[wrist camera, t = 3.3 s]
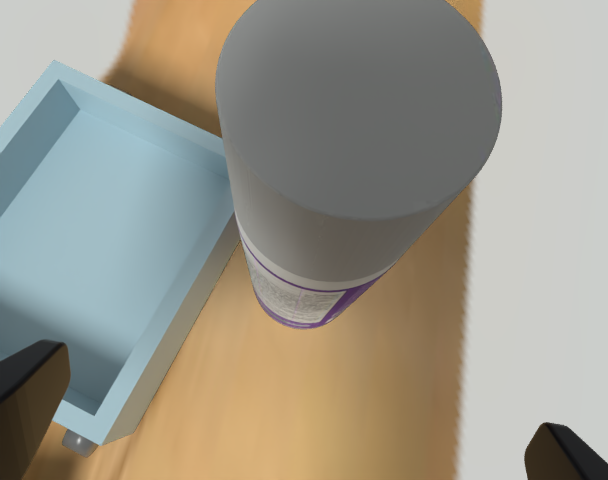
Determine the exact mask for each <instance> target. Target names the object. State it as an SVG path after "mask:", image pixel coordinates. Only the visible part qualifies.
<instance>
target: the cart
mask: <svg viewBox="0 0 608 480" xmlns="http://www.w3.org/2000/svg"><path fill="white" fill-rule="evenodd" d="M240 239H241V237H240V233H239V229H238V225H237V221H236V217H235V210H234V203H233V198H232V192H231V186H230V180H229V174H228V168H227V162H226V156H225V150H224V144H223V139H222V138H220V137H218V136H216V135H214V134H211V133H209V132H207V131H205V130H203V129H201V128H199V127H196V126H194V125H192V124H190V123H188V122H186V121H184V120H182V119H179V118H177V117H175V116H173V115H171V114H169V113H167V112H164V111H162V110H160V109H158V108H156V107H154V106H152V105H149V104H147V103H145V102H143V101H141V100H139V99H137V98H135V97H133V96H132V95H131V94H129V93H127V92H125V91H123V90H121V89H118V88H116V87H114V86H112V85H107V84H105V83H103V82H100V81H98V80H96V79H94V78H92V77H90V76H88V75H85V74H83V73H81V72H79V71H77V70H75V69H73V68H70V67H68V66H66V65H64V64H62V63H60V62H58V61H55V60H53V61H52V63H51V64H50V65H49V66H48V68H47V69H46V70H45V72H44V73H43V74H42V75H41V77H40V78H39V79H38V80H37V82H36V83H35V84H34V85H33V87H32V88H31V89H30V90H29V92H28V93H27V94H26V95H25V97H24V98H23V99H22V100H21V102H20V103H19V104H18V106H17V107H16V108H15V109H14V111H13V112H12V113H11V114H10V116H9V117H8V118H7V120H6V121H5V122H4V123H3V125H2V126H1V127H0V361H1V360H3V359H5V358H7V357H9V356H11V355H12V354H14V353H16V352H18V351H20V350H22V349H24V348H26V347H28V346H29V345H31V344H33V343H35V342H37V341H39V340H42V339H50V340H56V341H62V342H65V343H66V344H67V346H68V352H69V361H70V370H71V379H70V383H69V386H68V388H67V390H66V392H65V394H64V396H63V399H62V401H61V403H60V405H59V407H58V409H57V411H56V413H55V415H54V417H53V419H52V420H53V421H55V422H57V423H58V424H60V425H62V426H64V427H66V428H68V430H67V431H66V433H65V436H64V438H63V441H62V445H63V446H65V447H67V448H69V449H71V450H73V451H75V452H76V453H78V454H80V455H82V456H84V457H88V456H90V455H91V454H92V453H93V452H94V451H95V449H96V448H97V447H98V445H100V446H102V445H105V444H107V443H110V442H112V441H115V440H117V439H120V438H122V437H125V436H128V435H130V434H133V433H134V431H135V430H136V428H137V426H138V424H139V422H140V420H141V419H142V417H143V415H144V413H145V411H146V410H147V408H148V406H149V404H150V402H151V401H152V399H153V397H154V395H155V393H156V391H157V390H158V388H159V386H160V384H161V382H162V381H163V379H164V377H165V375H166V373H167V371H168V370H169V368H170V366H171V364H172V362H173V361H174V359H175V357H176V355H177V353H178V351H179V350H180V348H181V346H182V344H183V342H184V341H185V339H186V337H187V335H188V333H189V332H190V330H191V328H192V326H193V324H194V322H195V321H196V319H197V317H198V315H199V313H200V312H201V310H202V308H203V306H204V304H205V302H206V301H207V299H208V297H209V295H210V293H211V292H212V290H213V288H214V286H215V284H216V283H217V281H218V279H219V277H220V275H221V273H222V272H223V270H224V268H225V266H226V264H227V263H228V261H229V259H230V257H231V255H232V253H233V252H234V250H235V248H236V246H237V244H238V243H239V241H240Z"/></svg>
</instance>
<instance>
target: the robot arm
mask: <svg viewBox="0 0 608 480" xmlns="http://www.w3.org/2000/svg"><path fill="white" fill-rule="evenodd" d="M70 379H71V370H70V361H69V352H68V346H67V344H66V343H65V342H62V341H56V340H50V339H42V340H39V341H37V342H35V343H33V344H31V345H29V346H28V347H26V348H24V349H22V350H20V351H18V352H16V353H14V354H12V355H11V356H9V357H7V358H5V359H3V360H1V361H0V480H22V478H23V476H24V474H25V473H26V471H27V469H28V468H29V466H30V464H31V462H32V460H33V458H34V456H35V454H36V452H37V450H38V448H39V446H40V444H41V442H42V440H43V438H44V436H45V434H46V432H47V430H48V428H49V425H50V423H51V421H52V419H53V417H54V415H55V413H56V411H57V409H58V407H59V405H60V403H61V401H62V399H63V396H64V394H65V392H66V390H67V388H68V386H69V383H70ZM524 457H525V458H524V461H525V467H526V473H527V478H528V480H608V464H607V462H605V461H604V460H603V459H602V458H601V457H600V456H599V455H598V454H597V453H596V452H595V451H593V449H591V448H590V447H589V446H588V445H587V444H586V443H585V442H584V441H583V440H582V439H581V438H579V437H578V436H577V435H576V434H575V433H574V432H573V431H572V430H571V429H570V428H568V427H567V426H564V425H560V424H554V423H548V422H546V423H543V424H541V425H540V426H539V428H538V430H537V431H536V433H535V435H534V437H533V438H532V440H531V441H530V443H529V445H528V446H527V448H526V451H525V456H524Z"/></svg>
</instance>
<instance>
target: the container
mask: <svg viewBox="0 0 608 480" xmlns="http://www.w3.org/2000/svg"><path fill="white" fill-rule="evenodd" d="M215 92H216V103H217V109H218V114H219V120H220V126H221V132H222V138H223V144H224V150H225V156H226V162H227V168H228V174H229V180H230V186H231V192H232V198H233V203H234V210H235V217H236V221H237V225H238V229H239V233H240V237H241V241H242V245H243V249H244V253H245V257H246V261H247V265H248V269H249V273H250V276H251V280H252V284H253V288H254V292H255V295H256V297H257V300H258V302H259V304H260V305H261V307H262V308H263V310H264V311H265V312H266V313H267V314H268V315H269V316H270V317H271V318H272V319H274V320H275V321H277V322H278V323H280V324H282V325H284V326H287V327H290V328H295V329H312V328H317V327H320V326H323V325H325V324H327V323H329V322H330V321H332V320H333V319H335V318H336V317H337V316H338V315H340V314H341V313H342V312H343V311H344V310H345V309H346V308H347V307H348V306H349V305H351V304H352V303H353V302H354V301H355V300H356V299H357V298H358V297H359V296H360V295H361V294H363V293H364V292H365V291H366V290H367V289H368V288H369V287H370V286H371V285H372V284H374V283H375V282H376V281H377V280H378V279H379V278H380V277H381V276H382V275H383V274H385V273H386V272H387V271H388V270H389V269H390V268H391V267H392V266H393V265H394V264H395V263H396V262H397V261H398V260H399V259H400V257H401V256H402V255H403V254H404V253H405V252H406V251H407V250H408V249H409V248H410V247H411V245H412V244H413V243H414V242H415V241H416V240H417V239H418V238H419V237H420V236H421V235H422V234H423V233H424V231H425V230H426V229H427V228H428V227H429V226H430V225H431V224H432V223H433V222H434V221H435V220H436V218H437V217H438V216H439V215H440V214H441V213H442V212H443V211H444V210H445V209H446V208H447V207H448V206H449V204H450V203H451V202H452V201H453V200H454V199H455V198H456V197H457V196H458V195H459V194H460V193H461V192H462V190H463V189H464V188H465V187H466V186H467V185H468V184H469V183H470V182H471V181H472V180H473V179H474V178H475V176H476V175H477V174H478V173H479V171H480V170H481V169H482V167H483V166H484V164H485V163H486V161H487V159H488V158H489V156H490V154H491V152H492V150H493V147H494V145H495V142H496V140H497V136H498V133H499V128H500V123H501V116H502V95H501V86H500V81H499V77H498V73H497V70H496V67H495V64H494V62H493V59H492V57H491V55H490V53H489V51H488V49H487V47H486V45H485V43H484V42H483V40H482V39H481V37H480V36H479V34H478V33H477V32H476V30H475V29H474V28H473V27H472V25H471V24H470V23H469V22H468V21H467V20H466V19H465V18H464V17H463V16H462V15H461V14H460V13H459V12H458V11H457V10H456V9H455V8H453V7H452V6H451V5H450V4H449V3H447V2H446V1H445V0H257V1H256V2H255V3H254V4H252V5H251V6H250V7H249V8H248V9H247V10H246V12H245V13H244V14H243V15H242V16H241V17H240V18H239V20H238V21H237V22H236V23H235V25H234V26H233V28H232V30H231V31H230V33H229V35H228V37H227V39H226V41H225V43H224V45H223V48H222V51H221V54H220V57H219V61H218V65H217V71H216V80H215Z"/></svg>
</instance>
